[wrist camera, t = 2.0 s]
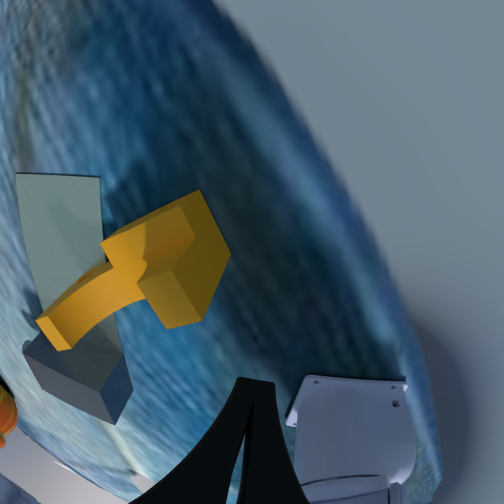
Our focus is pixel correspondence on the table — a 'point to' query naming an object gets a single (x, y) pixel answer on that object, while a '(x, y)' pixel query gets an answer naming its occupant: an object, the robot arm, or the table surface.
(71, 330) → the pipe clamp
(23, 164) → the table surface
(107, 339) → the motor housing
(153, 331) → the table surface
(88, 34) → the table surface
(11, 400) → the pumpkin
